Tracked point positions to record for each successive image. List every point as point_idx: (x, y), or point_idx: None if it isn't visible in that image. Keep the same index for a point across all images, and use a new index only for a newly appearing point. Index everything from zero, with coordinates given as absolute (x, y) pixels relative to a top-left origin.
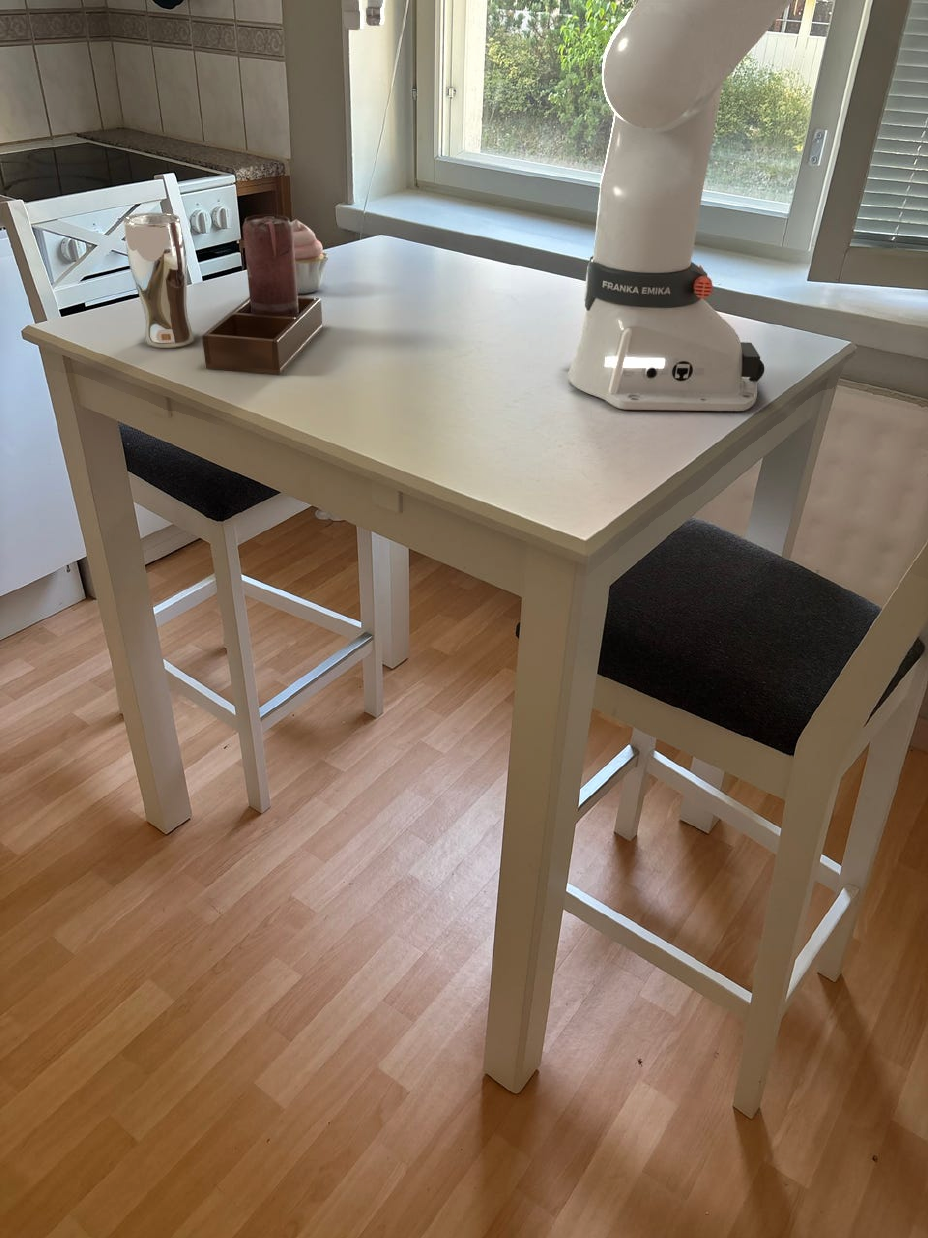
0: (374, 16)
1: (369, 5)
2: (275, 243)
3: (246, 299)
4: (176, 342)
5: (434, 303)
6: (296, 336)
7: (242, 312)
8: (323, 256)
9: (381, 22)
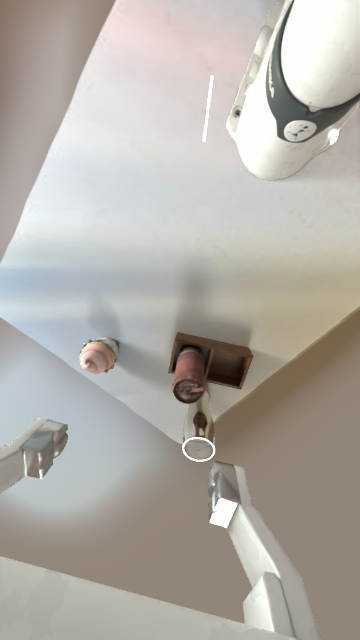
0: (54, 446)
1: (20, 475)
2: (204, 379)
3: None
4: (208, 394)
5: (123, 268)
6: (222, 346)
7: None
8: (95, 341)
9: (56, 423)
